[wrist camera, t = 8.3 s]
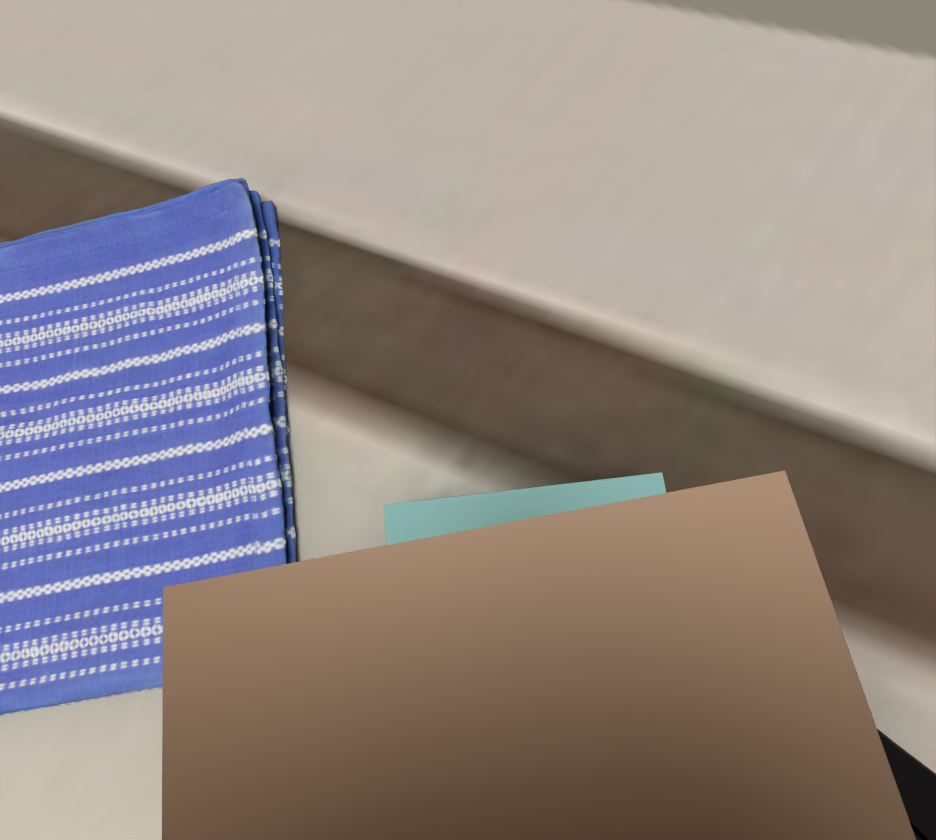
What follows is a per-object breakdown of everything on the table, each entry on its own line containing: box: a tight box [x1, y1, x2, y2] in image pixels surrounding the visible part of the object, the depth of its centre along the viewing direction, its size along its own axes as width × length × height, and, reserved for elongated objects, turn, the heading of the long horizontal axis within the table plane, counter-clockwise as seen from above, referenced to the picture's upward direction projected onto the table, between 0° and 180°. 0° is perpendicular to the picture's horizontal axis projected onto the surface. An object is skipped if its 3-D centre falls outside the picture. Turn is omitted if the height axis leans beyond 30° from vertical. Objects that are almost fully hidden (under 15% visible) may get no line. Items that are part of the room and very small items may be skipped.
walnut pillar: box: [162, 471, 916, 840], centre depth 10 cm, size 5×5×13 cm
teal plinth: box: [384, 473, 666, 545], centre depth 20 cm, size 10×10×4 cm
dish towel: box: [0, 178, 296, 715], centre depth 25 cm, size 17×24×3 cm
